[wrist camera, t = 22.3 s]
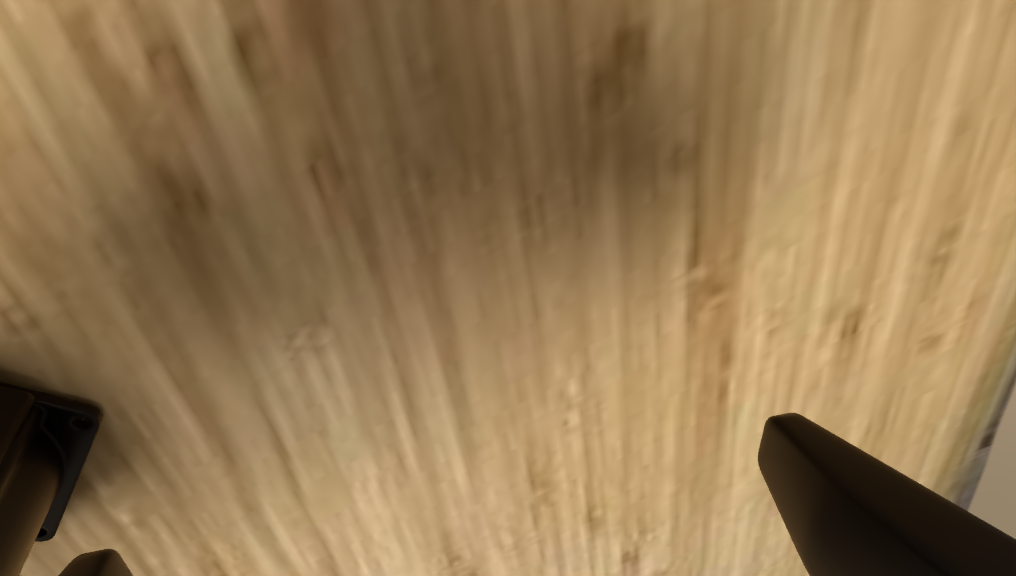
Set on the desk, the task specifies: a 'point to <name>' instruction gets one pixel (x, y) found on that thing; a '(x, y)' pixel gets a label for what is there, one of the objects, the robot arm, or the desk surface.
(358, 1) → the desk surface
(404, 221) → the desk surface
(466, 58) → the desk surface
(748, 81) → the desk surface
